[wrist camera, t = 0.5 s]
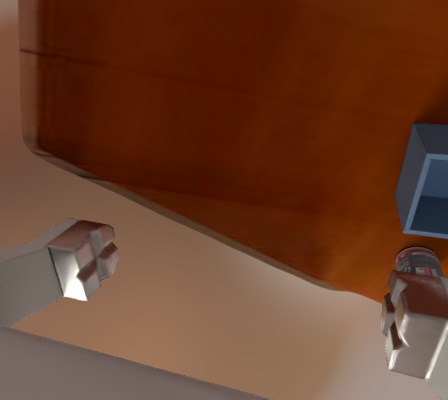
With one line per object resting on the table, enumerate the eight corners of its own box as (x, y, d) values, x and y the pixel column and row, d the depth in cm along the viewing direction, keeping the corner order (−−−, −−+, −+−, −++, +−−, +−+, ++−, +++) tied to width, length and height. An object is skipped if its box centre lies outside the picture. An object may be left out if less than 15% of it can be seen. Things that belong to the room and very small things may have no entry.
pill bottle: (396, 244, 50) (405, 295, 42) (440, 246, 48) (459, 299, 41) (393, 272, 53) (401, 325, 45) (435, 275, 51) (451, 331, 43)
